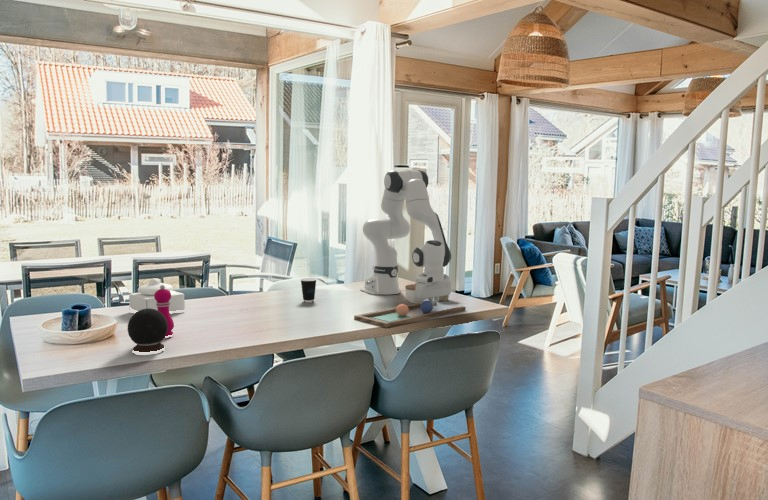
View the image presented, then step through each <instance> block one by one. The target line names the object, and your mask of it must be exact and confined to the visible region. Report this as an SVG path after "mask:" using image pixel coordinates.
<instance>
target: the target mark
mask: <svg viewBox="0 0 768 500" xmlns="http://www.w3.org/2000/svg"><path fill="white" fill-rule="evenodd" d="M408 317H413V316H412V315H409V314H407V315H406V316H399V315H398V314H397V313H391V314H386V315H380V316H375V317H371V318H372V319H376V320H380V321H384V322H389V321H394V320H398V319H403V318H408Z"/></svg>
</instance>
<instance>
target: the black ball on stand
mask: <svg viewBox="0 0 768 500" xmlns="http://www.w3.org/2000/svg"><path fill="white" fill-rule="evenodd" d="M167 331H168V323H167V320H166V318H165V316H164V315H163V314H162V313H161V312H159V311H157V310H155V309H149V308H147V309H142V310H140V311H138V312H136V313H135V314H133V315H132V316H131V317H130V318H129V320H128V323H127V334H128V336H129V338H130V339H131V341H132V342H133V343H134V344H136V345H135V346H133V347H132V349H133V350H134V351H139V352H150V351H157V350H160V349H162V348H164V346H165V345H164V343H162V341H163V340H165V339H164V338H165V336H166V334H167Z"/></svg>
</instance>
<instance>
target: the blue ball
mask: <svg viewBox="0 0 768 500" xmlns="http://www.w3.org/2000/svg"><path fill="white" fill-rule="evenodd" d="M433 308H434V307H433V305H432V303H431V302H430V301H429V300H424V301H423V302H422V303H421V306H420V308H419V309H420V310H421V311H422V312H423V314H427V313H432V311H433Z"/></svg>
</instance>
